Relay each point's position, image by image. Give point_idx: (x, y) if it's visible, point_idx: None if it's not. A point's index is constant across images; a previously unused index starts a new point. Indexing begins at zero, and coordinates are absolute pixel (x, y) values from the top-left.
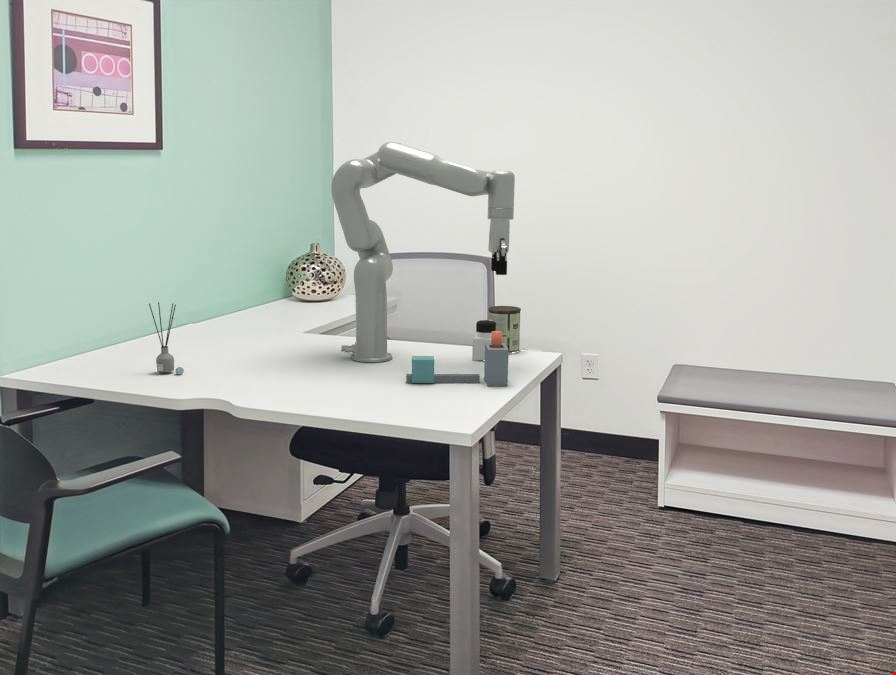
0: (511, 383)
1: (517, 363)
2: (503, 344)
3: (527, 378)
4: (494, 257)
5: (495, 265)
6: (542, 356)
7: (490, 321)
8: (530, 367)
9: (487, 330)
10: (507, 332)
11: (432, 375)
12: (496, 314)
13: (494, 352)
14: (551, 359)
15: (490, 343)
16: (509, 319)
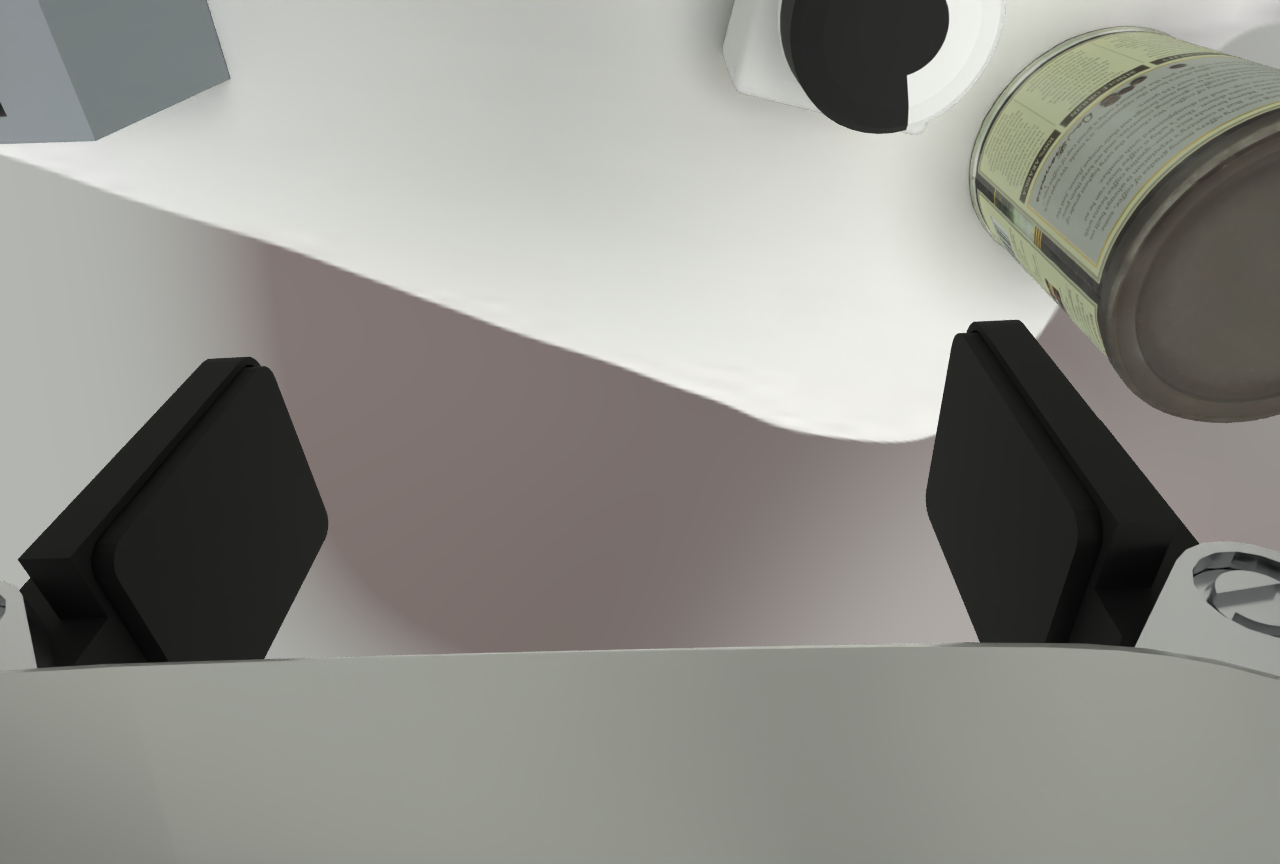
0: None
1: (678, 210)
2: (33, 125)
3: (276, 227)
4: (1097, 596)
5: (983, 466)
6: (874, 375)
7: (860, 76)
8: (569, 276)
9: (784, 25)
10: (1030, 221)
11: None
12: (1163, 171)
13: None
14: (787, 410)
15: (25, 5)
16: (1074, 279)
